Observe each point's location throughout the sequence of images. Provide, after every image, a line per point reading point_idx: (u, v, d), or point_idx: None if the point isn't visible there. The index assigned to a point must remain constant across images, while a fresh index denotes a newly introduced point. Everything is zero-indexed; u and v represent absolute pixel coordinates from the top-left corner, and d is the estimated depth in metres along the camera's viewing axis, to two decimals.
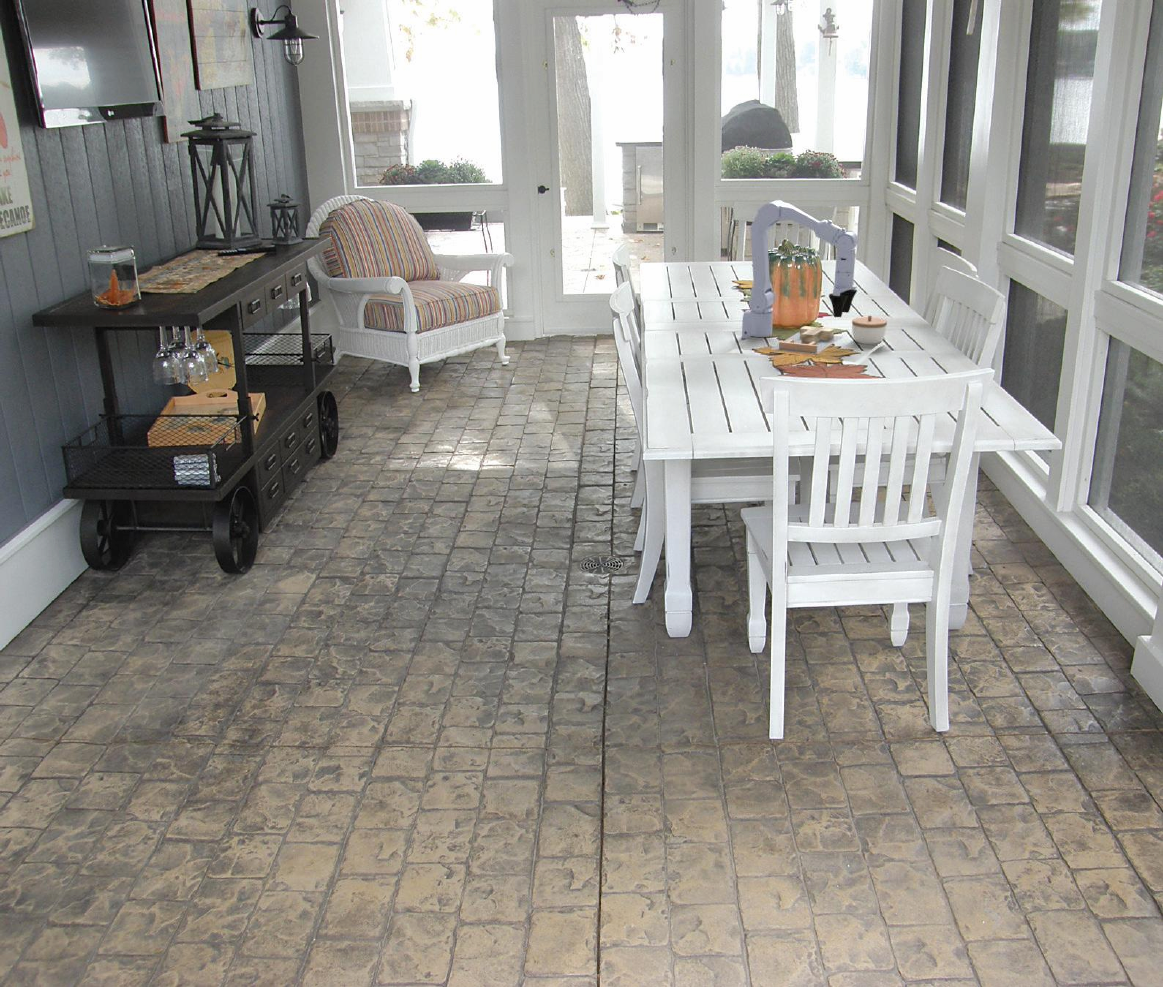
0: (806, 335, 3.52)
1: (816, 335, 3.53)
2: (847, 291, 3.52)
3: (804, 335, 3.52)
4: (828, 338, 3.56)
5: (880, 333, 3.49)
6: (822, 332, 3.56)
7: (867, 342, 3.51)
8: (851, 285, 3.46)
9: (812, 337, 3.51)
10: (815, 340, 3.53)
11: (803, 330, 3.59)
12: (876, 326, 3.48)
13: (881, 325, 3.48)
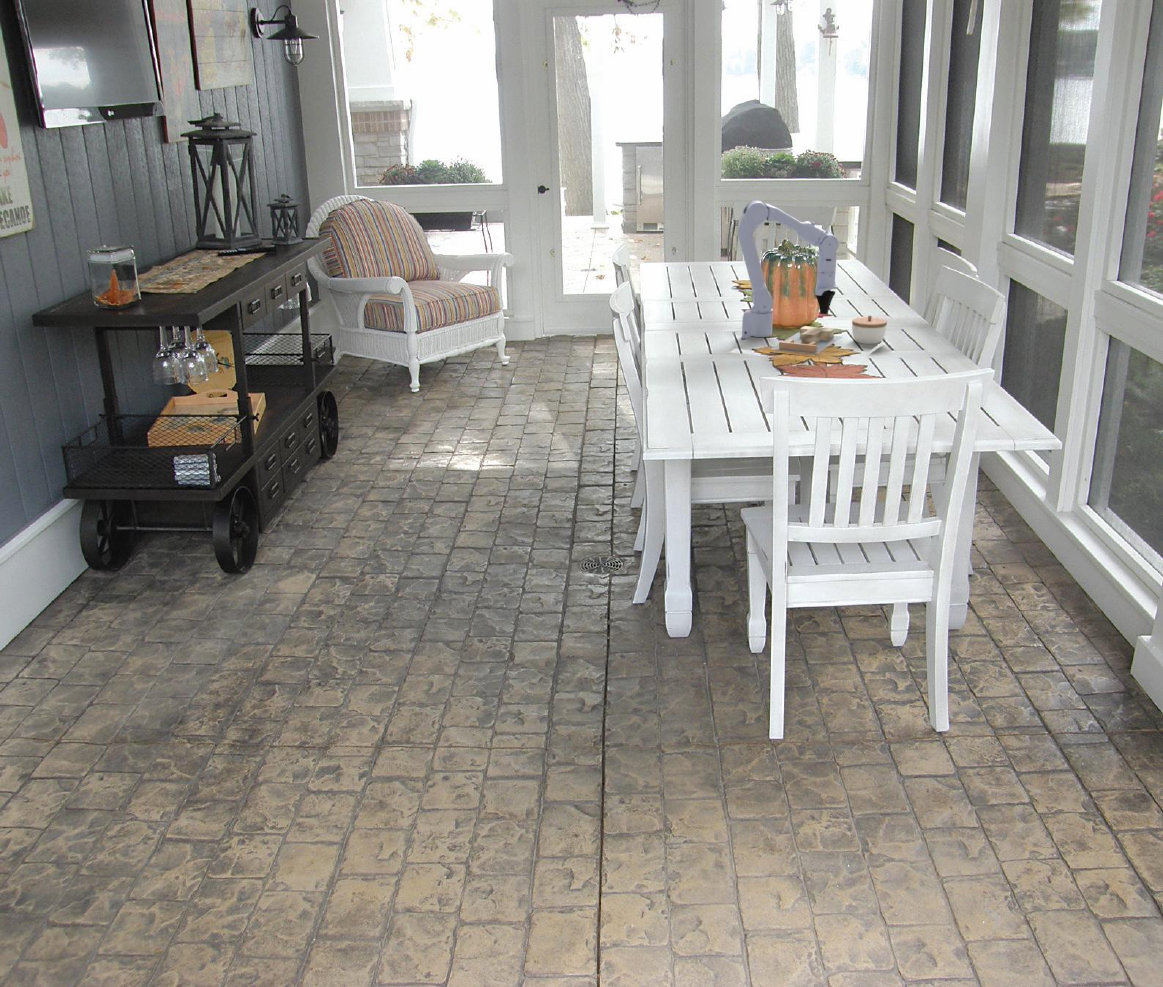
0: (806, 335, 3.52)
1: (816, 335, 3.53)
2: None
3: (804, 335, 3.52)
4: (828, 338, 3.56)
5: (880, 333, 3.49)
6: (822, 332, 3.56)
7: (867, 342, 3.51)
8: (833, 285, 3.57)
9: (812, 337, 3.51)
10: (815, 340, 3.53)
11: (803, 330, 3.59)
12: (876, 326, 3.48)
13: (881, 325, 3.48)
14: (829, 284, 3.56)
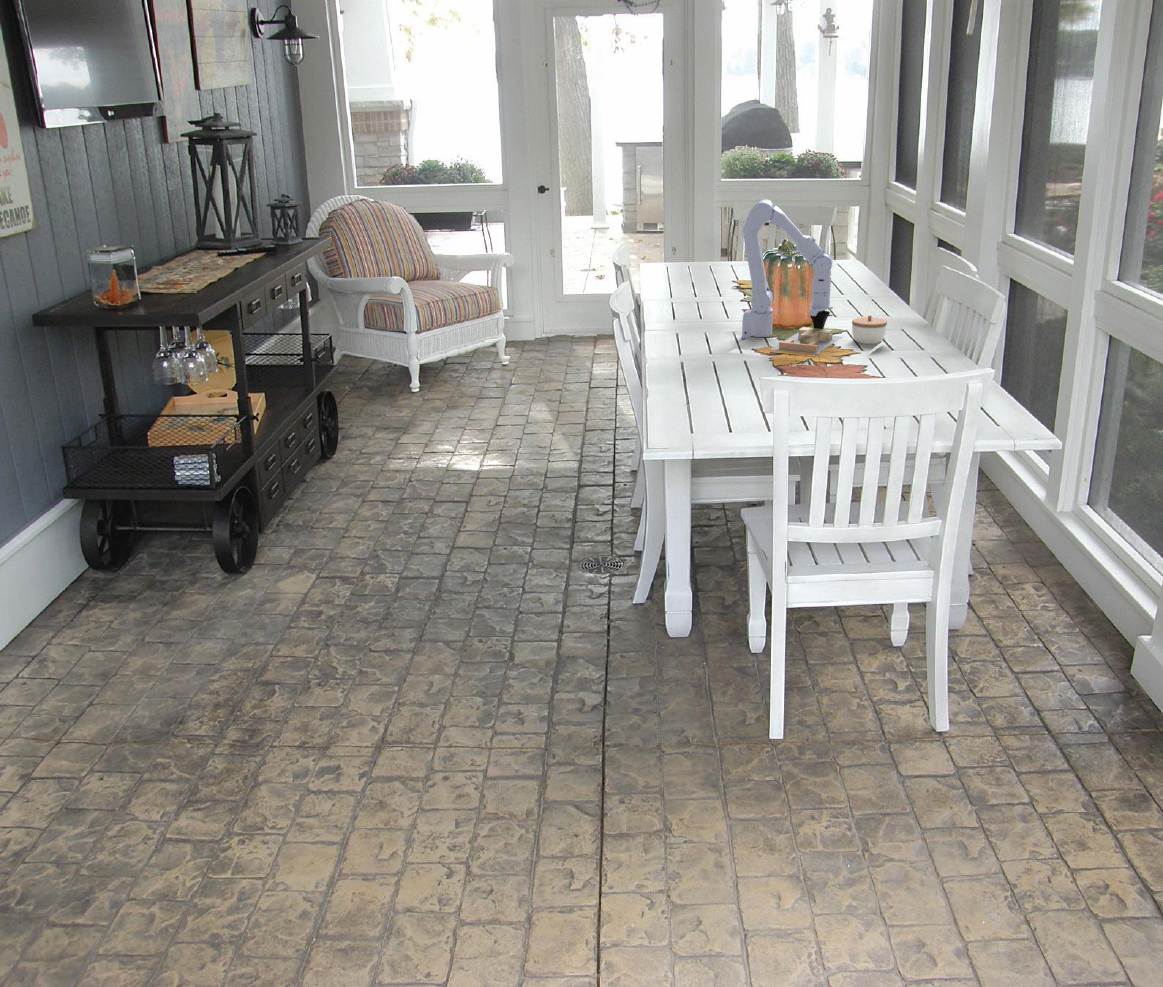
0: (804, 336, 3.51)
1: (815, 336, 3.52)
2: None
3: (802, 336, 3.51)
4: (827, 339, 3.55)
5: (880, 333, 3.49)
6: (821, 333, 3.55)
7: (867, 342, 3.51)
8: (827, 305, 3.56)
9: (810, 338, 3.50)
10: (814, 341, 3.51)
11: (801, 331, 3.58)
12: (875, 326, 3.48)
13: (881, 325, 3.48)
14: (824, 304, 3.55)
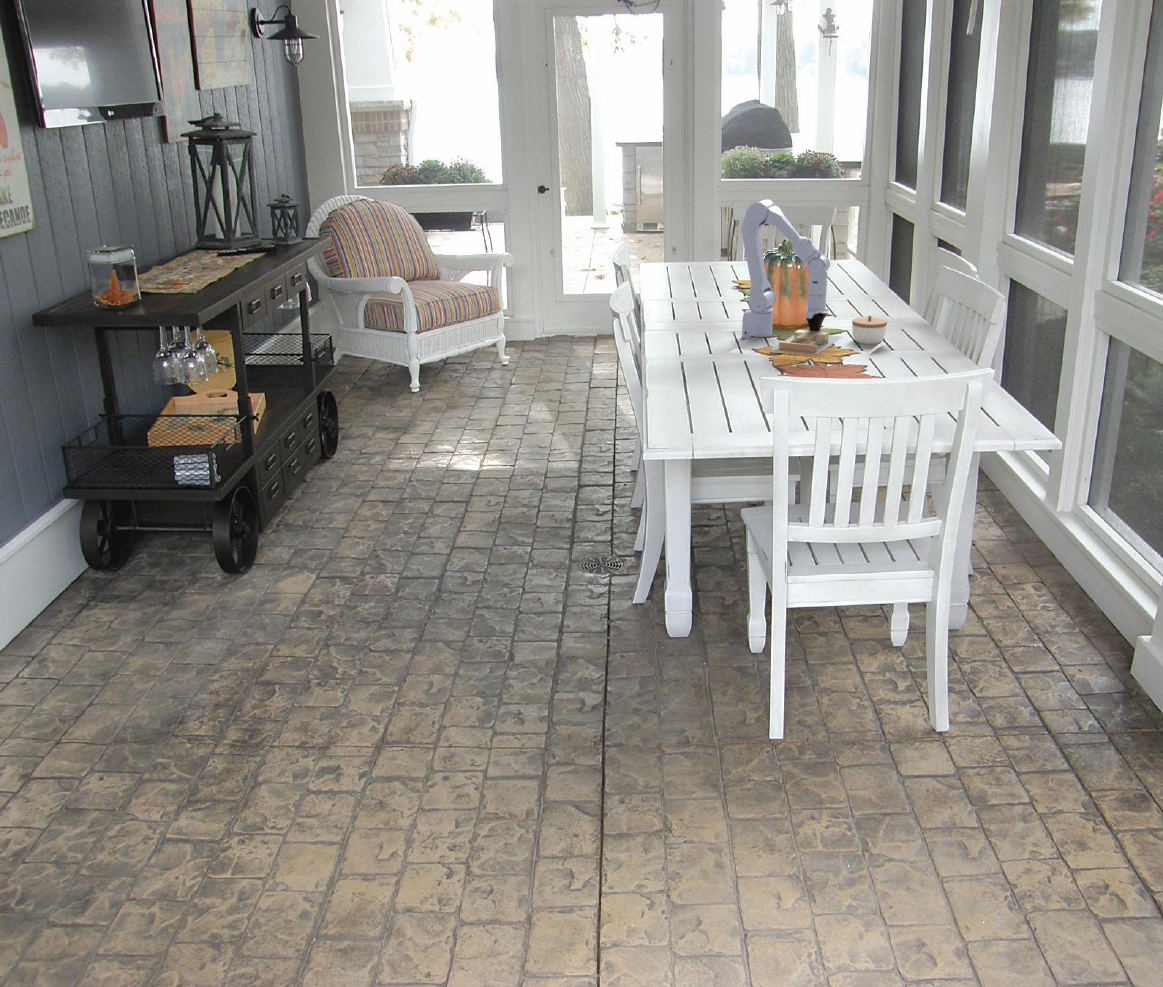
0: (800, 339, 3.47)
1: (810, 339, 3.48)
2: None
3: (798, 339, 3.48)
4: (823, 342, 3.51)
5: (880, 333, 3.49)
6: (817, 336, 3.52)
7: (867, 342, 3.51)
8: (823, 307, 3.52)
9: (806, 341, 3.47)
10: None
11: (797, 334, 3.55)
12: (876, 326, 3.48)
13: (881, 325, 3.48)
14: (820, 307, 3.51)
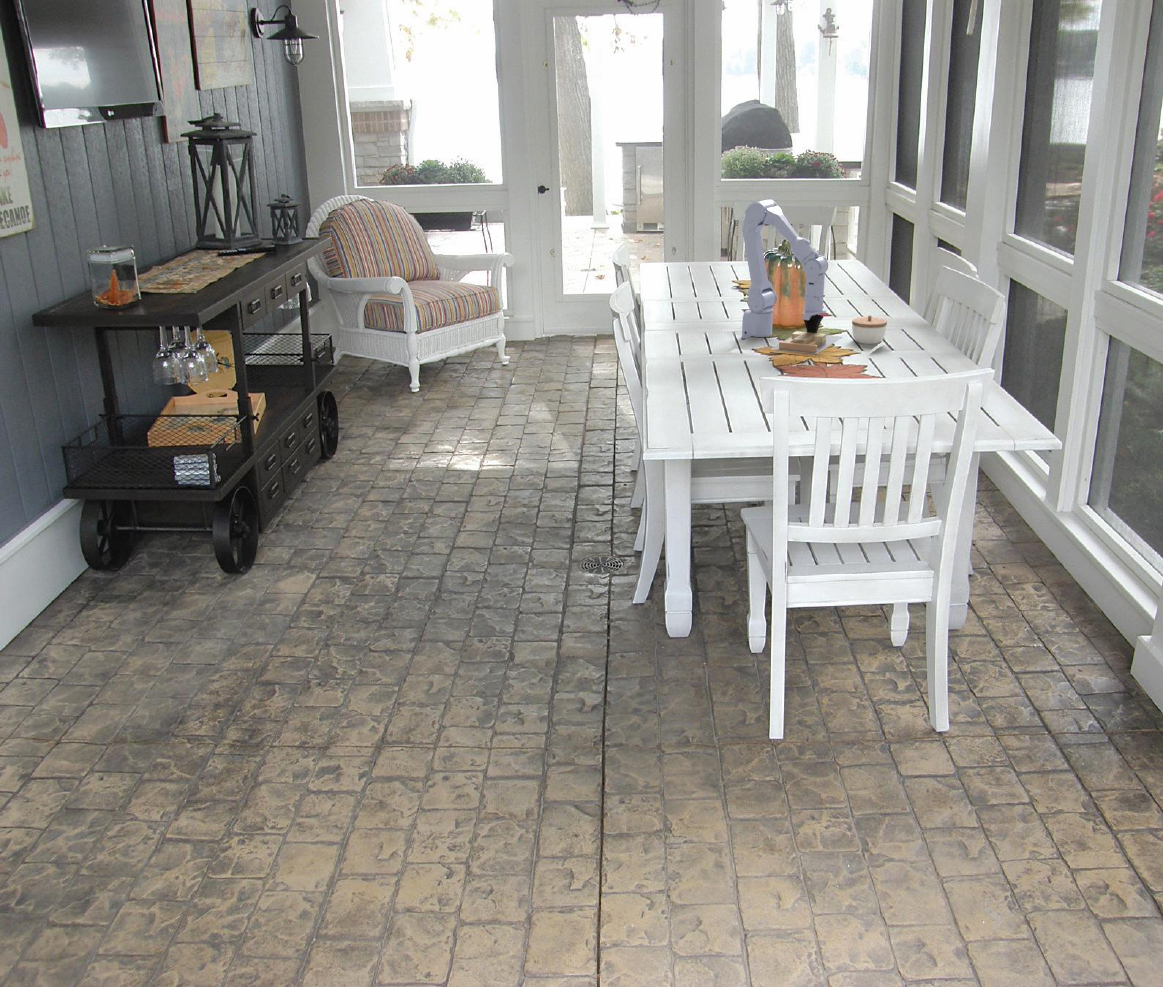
0: (797, 341, 3.45)
1: (808, 340, 3.46)
2: None
3: (795, 340, 3.46)
4: (820, 343, 3.49)
5: (880, 333, 3.49)
6: (814, 337, 3.50)
7: (867, 342, 3.51)
8: (821, 309, 3.50)
9: (803, 343, 3.45)
10: None
11: (795, 335, 3.53)
12: (875, 326, 3.48)
13: (881, 325, 3.48)
14: (817, 308, 3.49)
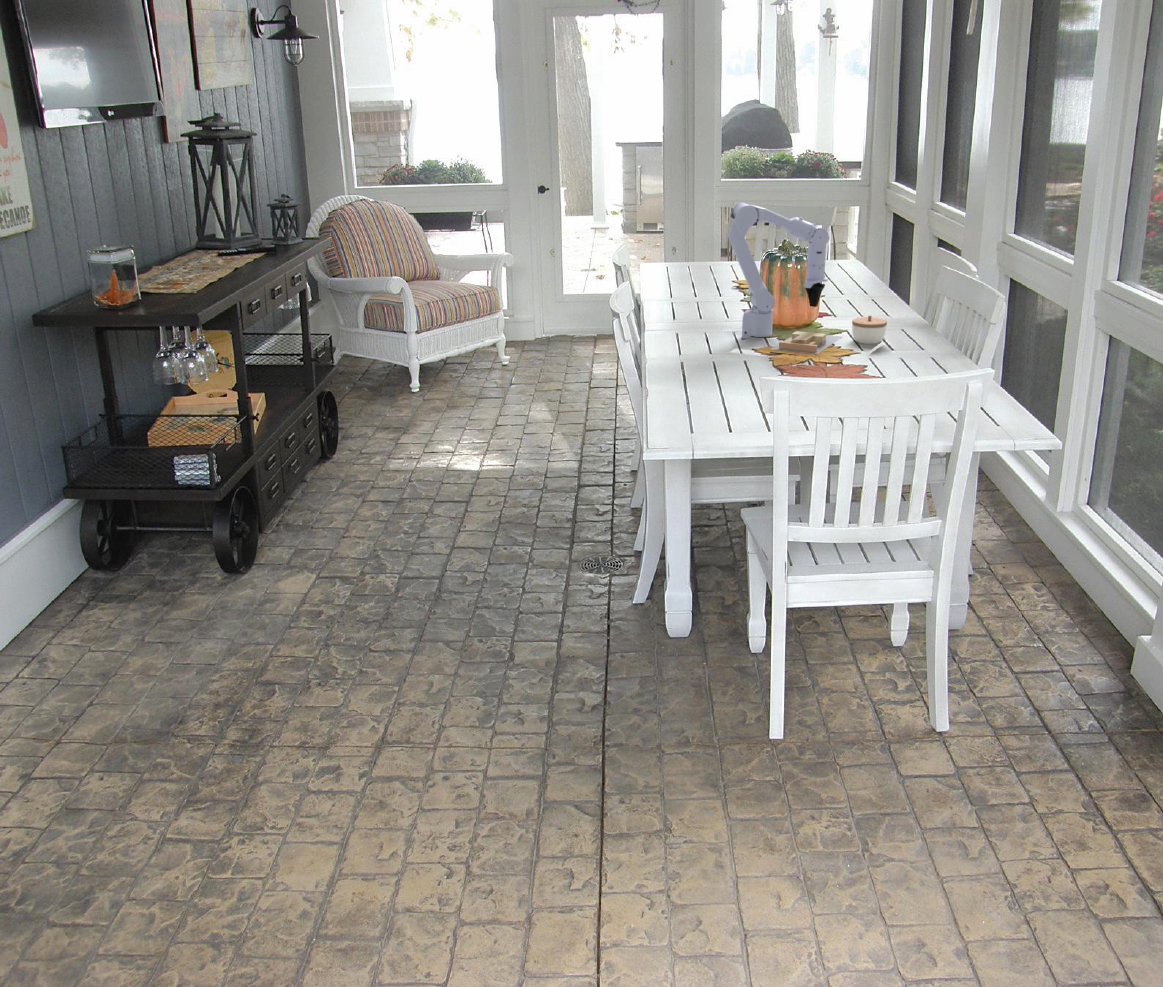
0: (797, 341, 3.45)
1: (808, 340, 3.46)
2: None
3: (795, 340, 3.46)
4: (820, 343, 3.49)
5: (880, 333, 3.49)
6: (814, 337, 3.50)
7: (867, 342, 3.51)
8: (822, 278, 3.59)
9: (803, 343, 3.45)
10: None
11: (795, 335, 3.53)
12: (876, 326, 3.48)
13: (881, 325, 3.48)
14: (818, 277, 3.58)
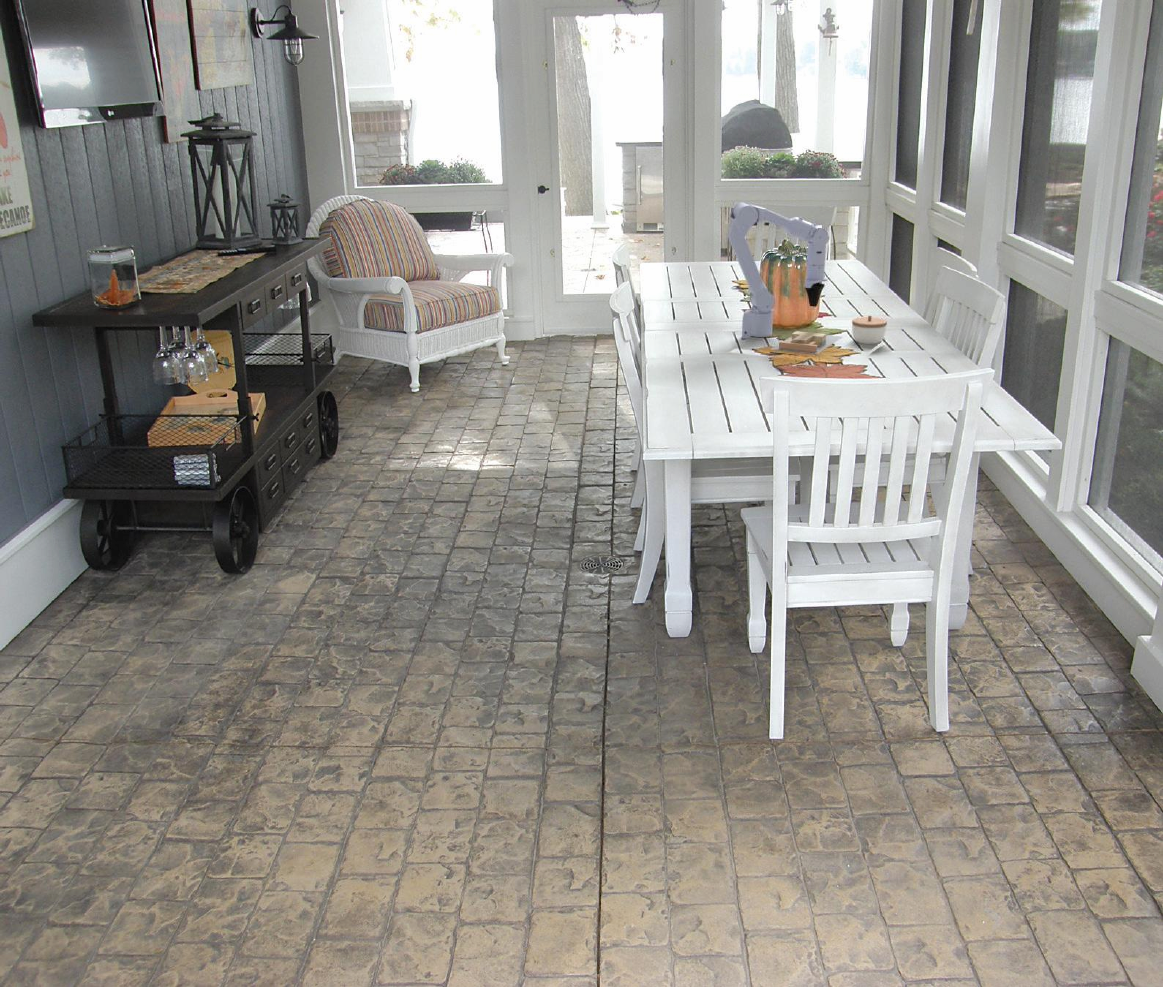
0: (797, 341, 3.45)
1: (808, 340, 3.46)
2: None
3: (795, 340, 3.46)
4: (820, 343, 3.49)
5: (880, 333, 3.49)
6: (814, 337, 3.50)
7: (867, 342, 3.51)
8: (822, 277, 3.59)
9: (803, 343, 3.45)
10: None
11: (795, 335, 3.53)
12: (876, 326, 3.48)
13: (881, 325, 3.48)
14: (818, 277, 3.58)
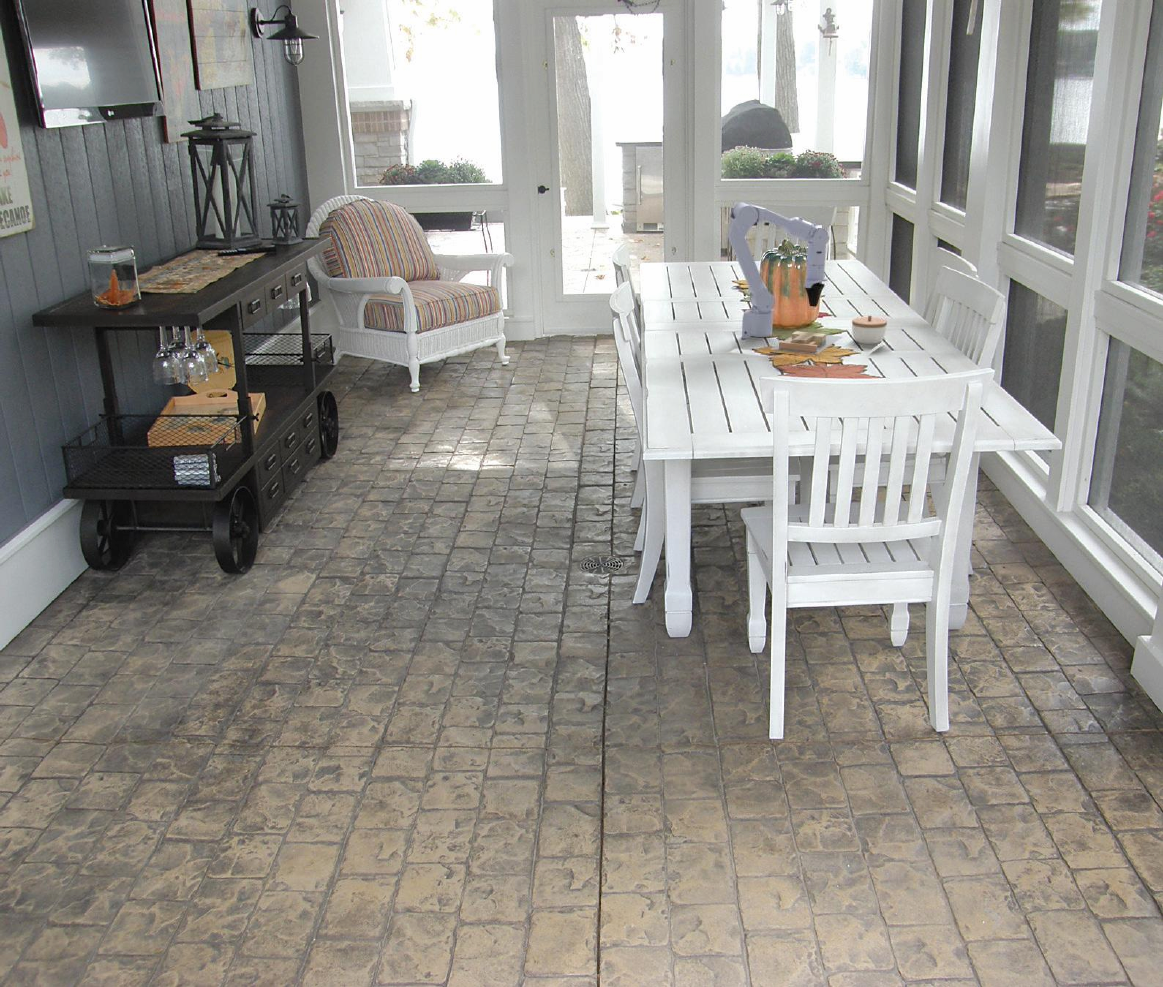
0: (797, 341, 3.45)
1: (808, 340, 3.46)
2: None
3: (795, 340, 3.46)
4: (820, 343, 3.49)
5: (880, 333, 3.49)
6: (814, 337, 3.50)
7: (867, 342, 3.51)
8: (822, 277, 3.59)
9: (803, 343, 3.45)
10: None
11: (795, 335, 3.53)
12: (876, 326, 3.48)
13: (881, 325, 3.48)
14: (818, 277, 3.58)
